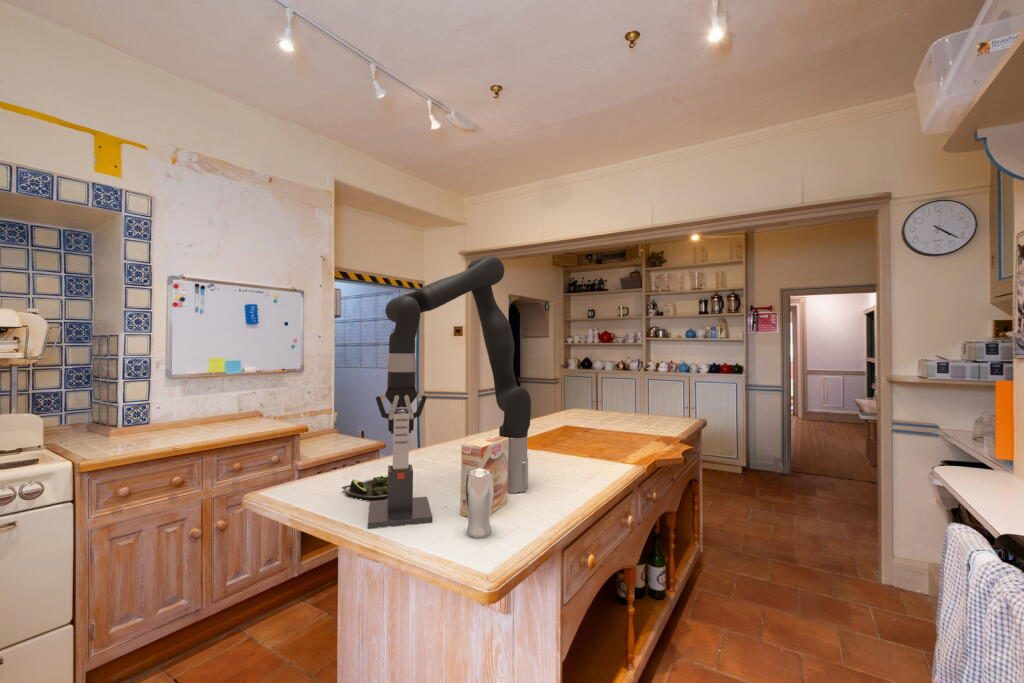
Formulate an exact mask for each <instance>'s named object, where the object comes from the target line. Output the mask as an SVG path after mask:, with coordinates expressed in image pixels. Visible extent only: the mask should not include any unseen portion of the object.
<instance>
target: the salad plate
mask: <svg viewBox="0 0 1024 683" xmlns="http://www.w3.org/2000/svg"><path fill="white" fill-rule="evenodd" d="M341 489H343V490H344V492H345V494H346V496H347V495H348V496H349V497H348V496H347V497H348V498H351V497H353V498H352V499H354V498H357V499H356V500H359V499H362V500H361V501H364V500H369V501H368V502H370V501H377V500H388V474H386V475H385V476H383V475H380V476H376V477H373V478H372V479H367V480H364V481H359V480H358V479H352V480H351V483H350V484H349V485H344V486H341Z"/></svg>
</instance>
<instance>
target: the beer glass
mask: <svg viewBox="0 0 1024 683" xmlns="http://www.w3.org/2000/svg"><path fill="white" fill-rule="evenodd" d="M493 492H494V483H493V472H492V471H491V470H488V469H472V470H469V471H467V474H466V486H465V495H466V504H467V510H468V517H467V518H468V520H467V528H466V535H467V536H468V537H469V538H473V539H485V538H488V537H489V536H491V534H492V527H491V522H490V521H491V514H490V512H491V507H492V501H493Z"/></svg>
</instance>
